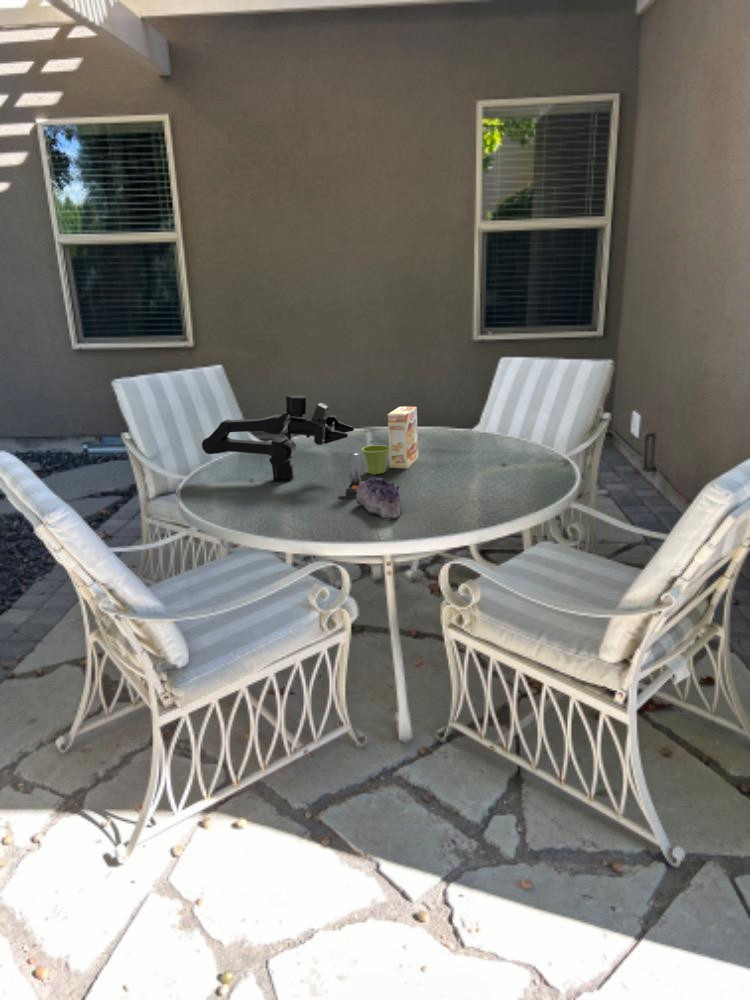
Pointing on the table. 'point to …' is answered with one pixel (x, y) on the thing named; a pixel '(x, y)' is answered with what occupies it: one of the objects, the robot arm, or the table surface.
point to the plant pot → (376, 458)
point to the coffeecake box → (403, 437)
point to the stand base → (348, 492)
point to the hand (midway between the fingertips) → (350, 432)
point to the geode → (380, 498)
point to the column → (354, 468)
